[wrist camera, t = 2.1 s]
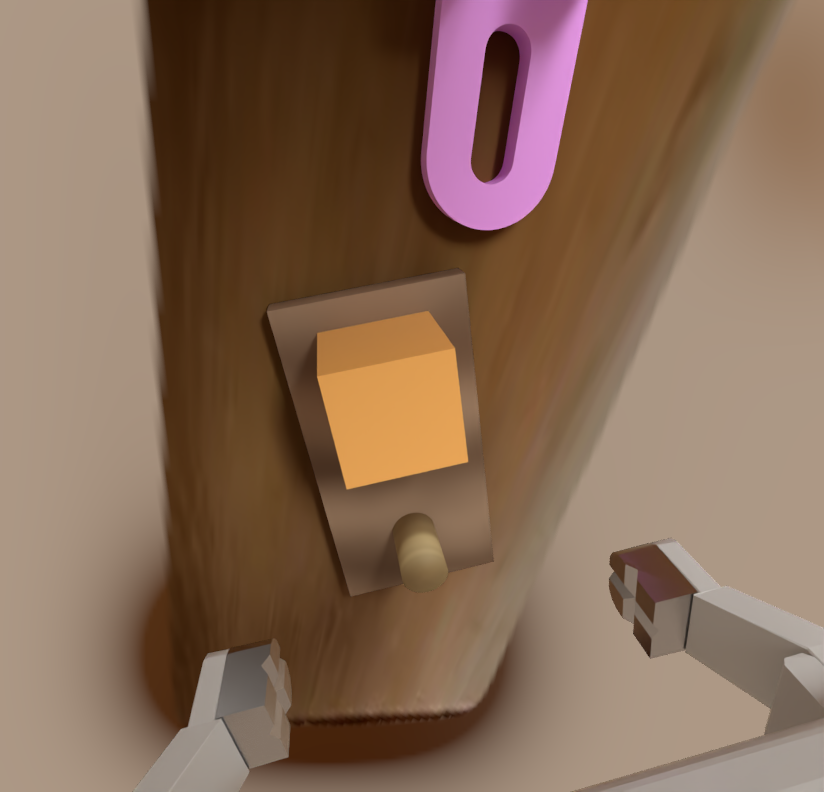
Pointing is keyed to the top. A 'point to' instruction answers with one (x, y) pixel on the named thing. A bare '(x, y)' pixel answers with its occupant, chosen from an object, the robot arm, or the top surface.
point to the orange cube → (391, 398)
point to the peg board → (406, 496)
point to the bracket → (531, 111)
